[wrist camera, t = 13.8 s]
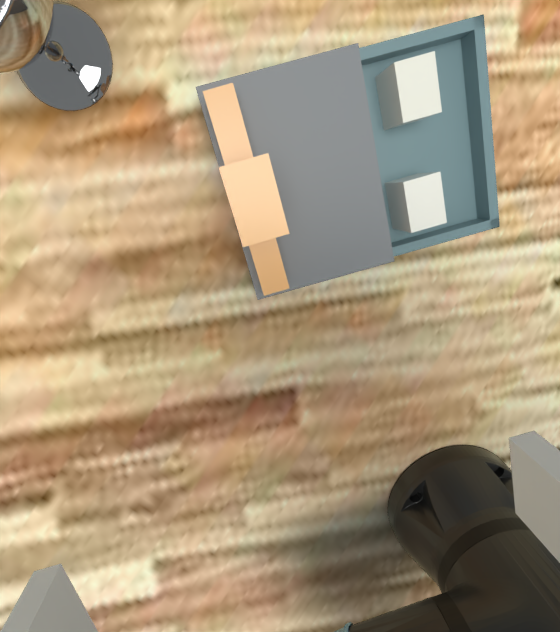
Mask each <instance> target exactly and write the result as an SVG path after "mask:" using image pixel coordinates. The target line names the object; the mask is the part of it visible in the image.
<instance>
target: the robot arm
mask: <svg viewBox="0 0 560 632" xmlns="http://www.w3.org/2000/svg"><path fill="white" fill-rule="evenodd" d="M509 446H510V457H511V468H512V471H511V469H510V468H509V467H508V466H507V465H506V464H505V463H504V462H503V461H502V460H501V459H500V458H499V457H498V456H496V455H495V454H493V453H492V452H490V451H488V450H485V449H483V448H479V447H475V446H452V447H447V448H443V449H440V450H437V451H435V452H432V453H430V454H428V455H426V456H424V457H422V458H421V459H419V460H418V461H416V462H415V463H414V464H413V465H411V466H410V467H409V468H408V469H407V470H406V471H405V472H404V473H403V474H402V475H401V477H400V478H399V479H398V481H397V482H396V484H395V486H394V488H393V490H392V492H391V495H390V498H389V502H388V517H389V521H390V524H391V527H392V529H393V531H394V533H395V535H396V537H397V539H398V541H399V543H400V545H401V546H402V548H403V549H404V550H405V551H406V552H407V553H408V554H409V555H410V556H411V557H412V558H413V560H414V561H415V562H416V563H417V564H418V565H419V566H420V567H421V568H422V569H423V570H424V571H425V572H426V573H427V574H428V575H429V576H430V577H431V578H432V579H433V580H434V581H435V582H436V583H437V585H438V586H439V588H440V590H441V592H442V594H440V595H437V596H434V597H431V598H427V599H424V600H422V601H419V602H416V603H413V604H410V605H408V606H405V607H402V608H399V609H397V610H394V611H391V612H388V613H385V614H383V615H380V616H377V617H374V618H371V619H369V620H366V621H363V622H360V623H357V624H354V625H353V623H351V622H349V623H347V624H345V626H344V628H342V629H339V630H337V631H335V632H560V451H559V450H558V449H557V448H556V447H554V446H553V445H552V444H550V443H549V442H548V441H547V440H545V439H544V438H543V437H541V436H540V435H539V434H538V433H536V432H535V431H532V432H528V433H525V434H521V435H518V436H514V437H511V438H509ZM1 632H98V631H97V629H96V627H95V625H94V623H93V622H92V620H91V618H90V616H89V614H88V612H87V611H86V609H85V607H84V605H83V603H82V601H81V600H80V598H79V596H78V594H77V592H76V590H75V589H74V587H73V585H72V583H71V581H70V579H69V578H68V576H67V574H66V572H65V570H64V568H63V567H62V565H61V564H58V565H55V566H51V567H48V568H44V569H41V570H37V571H34V572H33V574H32V576H31V578H30V580H29V581H28V583H27V585H26V587H25V589H24V590H23V592H22V594H21V596H20V598H19V599H18V601H17V603H16V605H15V607H14V608H13V610H12V612H11V614H10V616H9V617H8V619H7V621H6V623H5V625H4V626H3V628H2V630H1Z"/></svg>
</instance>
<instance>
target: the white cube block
mask: <svg viewBox="0 0 560 632" xmlns="http://www.w3.org/2000/svg"><path fill="white" fill-rule="evenodd" d="M385 187H386V193H387V199H388V205H389V210H390V216H391V222H392V228H393V229H397V230H401V231H405V232H409V233H413V232H417V231H420V230H423V229H427V228H430V227H434V226H437V225H441V224H444V223H447V219H446V211H445V204H444V196H443V188H442V180H441V172H428V173H417V174H414V175H410V176H407V177H403V178H400V179H397V180H393V181H390V182H386V183H385Z"/></svg>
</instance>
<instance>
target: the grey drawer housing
mask: <svg viewBox="0 0 560 632" xmlns="http://www.w3.org/2000/svg"><path fill="white" fill-rule="evenodd" d="M229 83H233V85H234V88H235V92H236V96H237V99H238V103H239V106H240V110H241V114H242V117H243V121H244V125H245V128H246V132H247V135H248V139H249V143H250V146H251V150H252V154H253V157H256V156H259V155H263V154H266V153H268V154H269V158H270V161H271V165H272V169H273V173H274V176H275V180H276V184H277V188H278V192H279V195H280V199H281V203H282V207H283V211H284V214H285V218H286V222H287V226H288V230H289V233H290V234H287V235H283V236H280V237H277V238H276V241H277V244H278V248H279V251H280V255H281V259H282V262H283V266H284V270H285V273H286V277H287V280H288V284H289V289H286V290H282V291H279V292H276V293H272V294H269V295H266V296H264V294H263V291H262V288H261V284H260V281H259V278H258V274H257V271H256V268H255V264H254V261H253V258H252V254H251V251H250V248H249V246H246V247H243V246H242V247H243V251H244V254H245V258H246V261H247V264H248V268H249V271H250V275H251V278H252V282H253V285H254V288H255V292H256V295H257V299H258V300H259V299H262V298H266V297H270V296H273V295H277V294H280V293H284V292H287V291H291V290H294V289H298V288H301V287H305V286H308V285H312V284H315V283H319V282H323V281H326V280H330V279H333V278H337V277H340V276H344V275H347V274H351V273H354V272H358V271H361V270H365V269H369V268H372V267H376V266H379V265H383V264H386V263H390V262H393V261H394V256H393V250H392V244H391V238H390V232H389V226H388V220H387V214H386V208H385V202H384V196H383V190H382V184H381V178H380V172H379V166H378V160H377V154H376V148H375V142H374V136H373V130H372V124H371V118H370V112H369V106H368V100H367V94H366V88H365V82H364V76H363V70H362V64H361V58H360V52H359V46H358V43H357V44H353V45H349V46H345V47H342V48H338V49H334V50H331V51H327V52H323V53H320V54H316V55H312V56H308V57H305V58H301V59H297V60H294V61H290V62H286V63H283V64H279V65H275V66H271V67H268V68H264V69H260V70H257V71H253V72H249V73H246V74H242V75H238V76H235V77H231V78H227V79H223V80H220V81H216V82H212V83H209V84H205V85H201V86H198V87H196V90H197V93H198V97H199V100H200V103H201V107H202V110H203V114H204V117H205V121H206V124H207V127H208V131H209V134H210V138H211V141H212V145H213V148H214V151H215V155H216V158H217V162H218V165H219V167H221V166H225V164H224V161H223V158H222V154H221V151H220V148H219V144H218V141H217V138H216V134H215V131H214V128H213V124H212V121H211V118H210V114H209V111H208V108H207V104H206V101H205V98H204V94H203V91H205V90H209V89H212V88H216V87H219V86H223V85H226V84H229ZM234 220H235V219H234ZM236 227H237V226H236ZM237 230H238V229H237ZM238 234H239V233H238ZM239 237H240V236H239ZM240 240H241V239H240ZM241 244H242V242H241Z"/></svg>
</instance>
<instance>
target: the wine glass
mask: <svg viewBox="0 0 560 632" xmlns="http://www.w3.org/2000/svg"><path fill="white" fill-rule="evenodd" d="M112 69H113V62H112V54H111V51H110V47H109V44H108V42H107V39H106V37H105V35H104V33H103V32H102V30H101V29H100V27H99V26H98V25H97V24H96V22H95V21H94V20H93V19H92V18H91V17H90V16H89V15H87V14H86V13H85V12H84V11H82V10H80V9H79V8H77V7H75V6H73V5H71V4H68V3H64V2H60V1H53V0H0V74H5V73H11V72H15V71H17V73H18V75H19V77H20V79H21V80H22V82H23V83H24V85H25V86H26V87H27V89H28V90H29V91H30V92H31V93H32V94H33V95H34V96H35V97H37V98H38V99H39V100H40V101H42V102H44V103H45V104H47V105H49V106H51V107H54V108H57V109H60V110H65V111H77V110H82V109H85V108H88V107H90V106H92V105H93V104H95V103H96V102H98V101H99V100H100V99H101V98H102V97H103V95H104V94H105V92H106V91H107V89H108V86H109V84H110V82H111V77H112Z"/></svg>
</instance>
